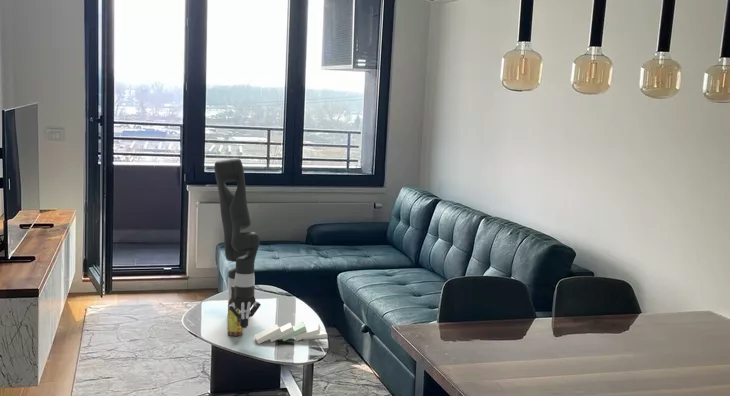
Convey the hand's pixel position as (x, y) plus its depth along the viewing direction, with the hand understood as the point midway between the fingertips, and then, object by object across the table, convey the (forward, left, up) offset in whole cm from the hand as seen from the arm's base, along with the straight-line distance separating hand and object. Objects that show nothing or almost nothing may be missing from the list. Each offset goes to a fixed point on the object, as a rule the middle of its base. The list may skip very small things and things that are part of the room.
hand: (243, 327), depth 267 cm
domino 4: (+1, +21, -5) cm, 22 cm away
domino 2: (-1, +11, -6) cm, 12 cm away
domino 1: (0, +5, -6) cm, 8 cm away
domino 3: (0, +16, -6) cm, 17 cm away
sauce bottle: (-12, 0, -7) cm, 14 cm away
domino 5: (0, +24, -6) cm, 24 cm away
